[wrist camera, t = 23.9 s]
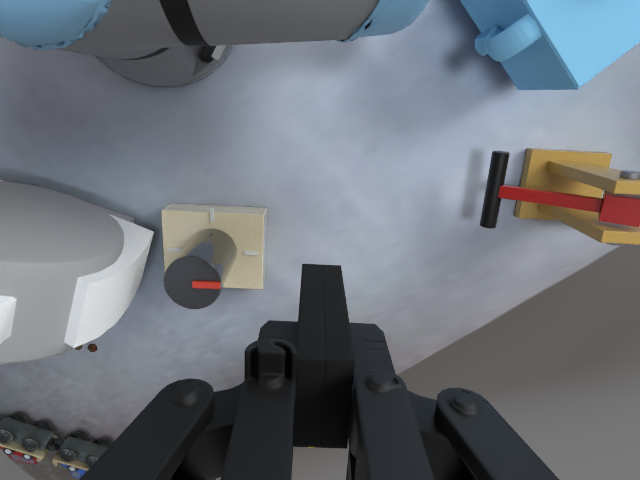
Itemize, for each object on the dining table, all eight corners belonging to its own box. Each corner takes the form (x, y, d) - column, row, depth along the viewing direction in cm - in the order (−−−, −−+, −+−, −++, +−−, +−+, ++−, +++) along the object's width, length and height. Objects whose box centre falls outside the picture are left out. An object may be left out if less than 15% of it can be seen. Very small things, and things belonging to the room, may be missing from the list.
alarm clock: (-13, 232, 47) (-237, 327, 28) (-2, 155, 45) (-240, 203, 26) (154, 285, 49) (52, 408, 30) (174, 215, 47) (76, 300, 28)
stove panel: (174, 278, 49) (165, 290, 46) (170, 197, 46) (160, 205, 43) (265, 282, 49) (262, 294, 46) (266, 202, 47) (263, 210, 44)
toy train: (-83, 410, 50) (-85, 443, 51) (116, 467, 52) (108, 496, 54) (-56, 387, 53) (-59, 419, 55) (130, 441, 56) (121, 469, 58)
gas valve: (513, 215, 47) (575, 253, 36) (526, 148, 45) (597, 166, 34) (588, 219, 48) (672, 258, 36) (604, 152, 45) (700, 172, 34)
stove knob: (189, 272, 46) (163, 309, 38) (188, 227, 44) (160, 256, 36) (237, 274, 46) (221, 312, 38) (237, 229, 44) (220, 259, 36)
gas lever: (482, 222, 44) (477, 227, 42) (494, 149, 42) (490, 152, 40) (628, 248, 38) (631, 255, 36) (652, 166, 36) (655, 169, 34)
